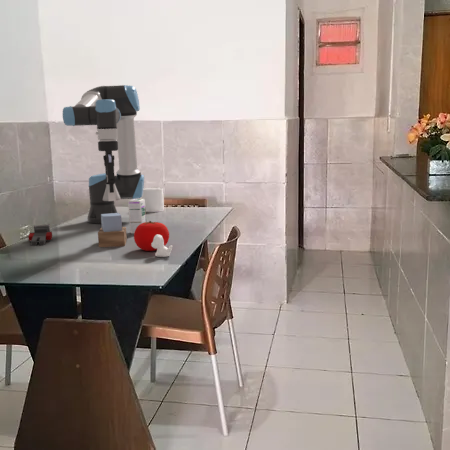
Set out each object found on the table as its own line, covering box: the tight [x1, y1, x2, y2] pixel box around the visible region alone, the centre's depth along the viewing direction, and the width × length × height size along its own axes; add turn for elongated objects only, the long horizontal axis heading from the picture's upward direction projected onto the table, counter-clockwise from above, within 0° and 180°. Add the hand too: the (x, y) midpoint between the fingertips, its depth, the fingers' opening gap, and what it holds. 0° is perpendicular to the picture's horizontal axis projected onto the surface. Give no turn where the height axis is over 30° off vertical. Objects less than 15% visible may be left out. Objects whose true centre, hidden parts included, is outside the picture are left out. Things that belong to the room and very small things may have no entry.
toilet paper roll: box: [141, 186, 165, 213], centre depth 303 cm, size 12×12×12 cm
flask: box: [103, 175, 122, 202], centre depth 218 cm, size 7×7×10 cm
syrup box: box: [127, 198, 147, 235], centre depth 243 cm, size 6×6×14 cm
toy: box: [27, 223, 53, 247], centre depth 229 cm, size 9×6×15 cm
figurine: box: [151, 234, 173, 258], centre depth 198 cm, size 5×8×8 cm
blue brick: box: [100, 212, 123, 232], centre depth 220 cm, size 7×7×6 cm
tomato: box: [133, 220, 170, 252], centre depth 209 cm, size 12×13×11 cm
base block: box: [97, 226, 128, 248], centre depth 222 cm, size 10×10×6 cm
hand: (111, 199), depth 219 cm, fingers closed on flask, 7 cm apart
